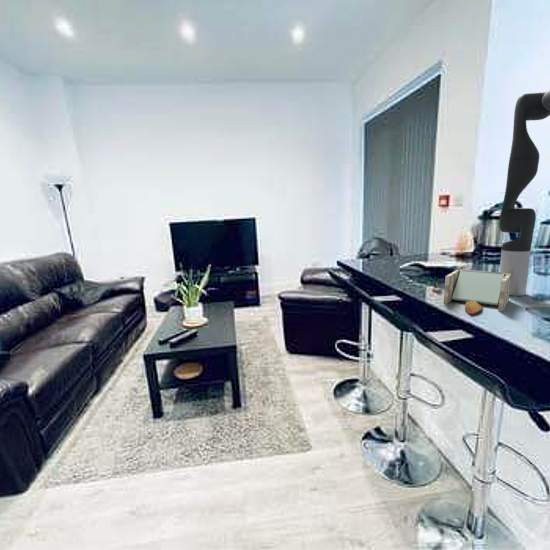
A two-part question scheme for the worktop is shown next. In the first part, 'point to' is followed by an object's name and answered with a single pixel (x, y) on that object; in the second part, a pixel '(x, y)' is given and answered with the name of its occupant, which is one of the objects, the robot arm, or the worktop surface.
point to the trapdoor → (478, 286)
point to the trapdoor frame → (452, 281)
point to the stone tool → (472, 307)
